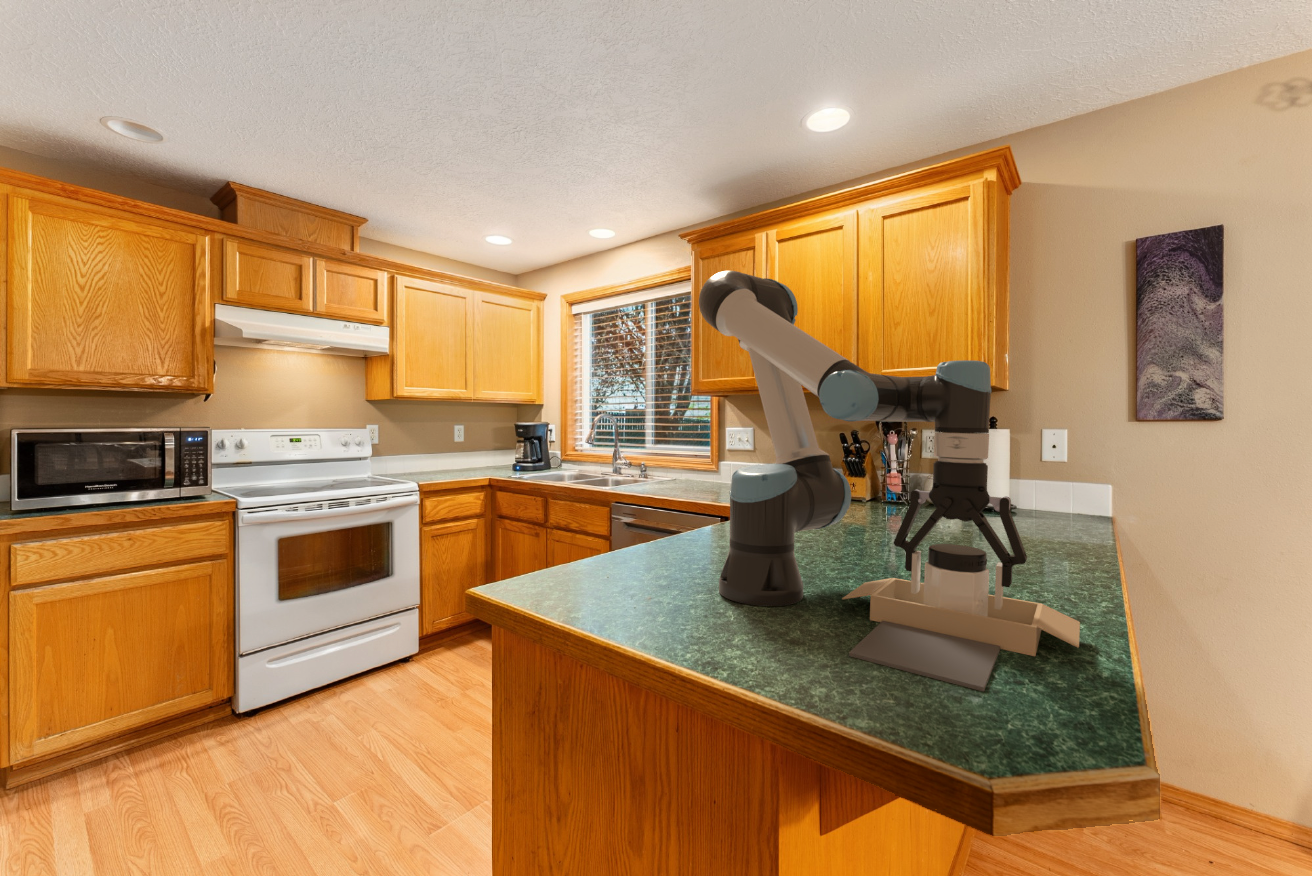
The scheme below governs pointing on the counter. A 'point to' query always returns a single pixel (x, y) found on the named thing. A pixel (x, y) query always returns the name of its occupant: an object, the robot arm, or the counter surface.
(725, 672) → the counter surface
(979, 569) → the jar
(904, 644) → the mat
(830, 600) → the counter surface
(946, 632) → the carton
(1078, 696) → the counter surface
